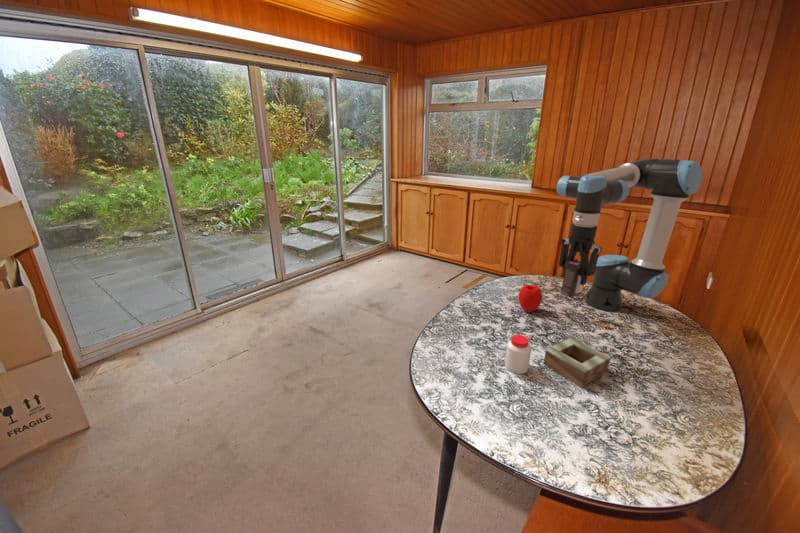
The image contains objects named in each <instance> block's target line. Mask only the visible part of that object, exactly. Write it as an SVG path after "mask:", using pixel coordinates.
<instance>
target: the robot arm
mask: <svg viewBox="0 0 800 533" xmlns="http://www.w3.org/2000/svg"><path fill="white" fill-rule="evenodd" d="M702 178H703V172H702V168H701V165H700V163H698V162H697V161H695V160H687V159H667V158H645V159H641V160H635V161H631V162H627V163H626V162H625V163H622V164H621V165H620V166H618V167H615V168H611V169H606V170H605V169H604V170H601V171H596V172H593V173H587V174H580V175H577V176H576V175H575V176H574V175H571V174H570V175H563V176H561V177H560V178H559V180H558V181H557V182H556V183H557V184H556V193H557V194H558V196H560V197H561V196H562V197H565V198H571V199H575V207H574V211H573V215H572V221H571V222H572V224H571V226H570V232H569V235H570V236H569V237H566V238H561V240H560V243H561V248H560V253H559V254H560V256H559V261H558V266H559V267H561V268H562V269H563V270H562V275H561V277H562V279H564V274H565V269H566V263H567V262H569V261H571V260H575V258H576V256H577V253H578V254H579V257H580V260H581V275H578V280H577V285H576V290H575V293H576V294H578V293H581V294H582V293H583V289H584V285H586V284H587V280H588V277H591V276H593V279H592V284H591V286H590V288H589V289H588V290H587V293H586V294H585V297H584V303H586V305H588V306H589V307H591V308H594V309H597V310H599V311H605V312H607V311H608V312H616V311H620V310H621V309H622V307H623V304H624V302H623V295H622V290H624V291H627V292H629V293H632V294H633V295H634V294H635V295H637V296H639V297H643V298H647V299H653V298H656V297H657V296H658V295H660V293H662V291H663V290H664V289H665V287H666V285H667V284H668V282H669V274H668V273H667V272H665V271H666V270H665V269H666V265H664V264H663V260H664V257H665V254H666V251H667V248H668V244H669V242H670V239H671V236H672V233H673V228H674V226H675V223H676V220H677V217H678V214H679V211H680V208H681V205H682V203H683V202H684V201H687V200H688V199H689V196H690V195H694V194H695V193H696V192H698V189H699V188H700V186H701V183H702ZM629 188H638V189H644V190H645V189H646V190H651V193H650V196H651V198H653V202H652V204H651V209H650V212H649V215H648V219H647V222H646V225H645V229H644V231H643V232H644V233H643V236H642V239H641V241H640V242H641V243H640V245H639V249H638V253H637V256H636V257H635V258H634V259H632V260H631V261H630V260H629V257H628V256H625V255H619V254H603V255H601V256H599V255H600V253H602V251H603V248H602V247H601V246H600V247H599V246H597V245H596V244H595V238H596V234H597V230H598V225H599V220H600V216H601V212H602V211H601V210H602V206H603V205H609V204H610V205H611V204H613V205H614V204H617V203H620V202H622V201H624V200H625V199H626V198H627V197H628V195H629V191H630V189H629ZM590 252H591V253H590ZM589 255H590V257H589Z"/></svg>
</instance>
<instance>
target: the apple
mask: <svg viewBox="0 0 800 533" xmlns="http://www.w3.org/2000/svg"><path fill="white" fill-rule="evenodd" d="M517 299H518V302H519V306H520V307H521V309H522V310H523V311H525V312H526V313H532V312H534V311H536V310H537V309H538V308H539V306H540V305H541V303H542V301H543V291H542V289H541V288H540V287H539V286H537V285H533V284H532V285H531V284H526V285H524V286H522V287H521V288H520V290H519V292H518V298H517Z"/></svg>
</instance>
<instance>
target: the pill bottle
mask: <svg viewBox="0 0 800 533" xmlns="http://www.w3.org/2000/svg"><path fill="white" fill-rule="evenodd" d="M510 338H511V339H510V340H509V341H507V344H506V351H505V360H504V367H505V368H506V370H507V371H509V372H511V373H514V374H519V375H520V374H525V373H527V372H528V371H529V369H530V368H529V367H530V360H531V355H532V354H531V353H532V345H531V344H530V343H529V342H530V340H529V338H528V337H527V336H525V335H522V334H514V335H512V336H511V337H510Z"/></svg>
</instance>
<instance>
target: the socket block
mask: <svg viewBox="0 0 800 533" xmlns="http://www.w3.org/2000/svg"><path fill="white" fill-rule="evenodd" d="M610 361H611V356H609V355H607V354H605V353H603V352H602V351H600V350H597V349H596V348H594V347H592V346H589V345H588V344H585V343H583V342H582V341H580V340H579V339H576V338H574V337H569V338H567V339H565V340H562V341H561V342H558V343H557V344H554V345H552V346H550V347H548V348H546V349H545V354H544V361H543V365H544V366H546V367H548V368H549V369H551V370H552V371H554V372H555V373H558V374H559V375H561V376H562V377H564V378H566V380H569V382H572V383H573V384H575V385H577V386H578V387H580V388H583V387H585V386H588V384H589V383H592V382H594V381H595V380H596V379H598V378H600V377H601V376H604V375H605V374H607V373H608V369H609V366H610Z"/></svg>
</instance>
